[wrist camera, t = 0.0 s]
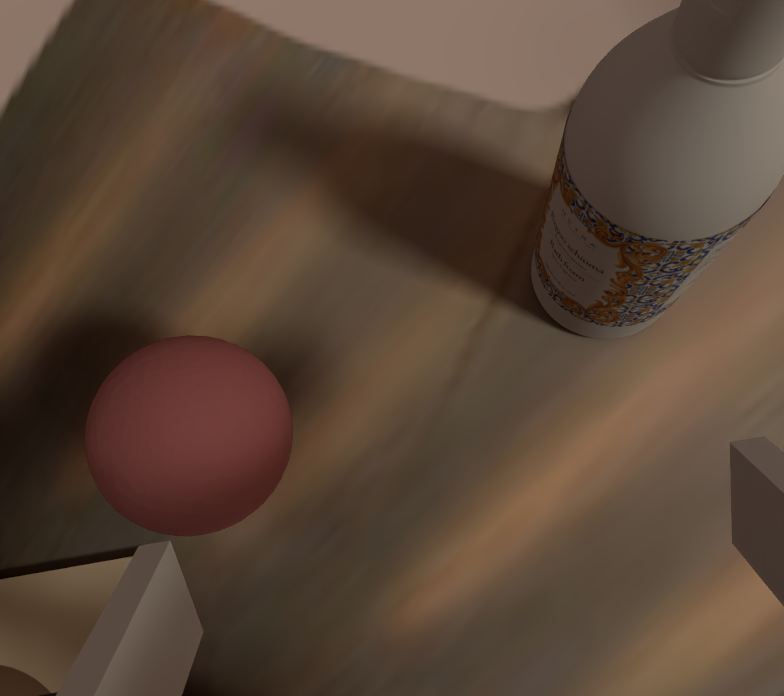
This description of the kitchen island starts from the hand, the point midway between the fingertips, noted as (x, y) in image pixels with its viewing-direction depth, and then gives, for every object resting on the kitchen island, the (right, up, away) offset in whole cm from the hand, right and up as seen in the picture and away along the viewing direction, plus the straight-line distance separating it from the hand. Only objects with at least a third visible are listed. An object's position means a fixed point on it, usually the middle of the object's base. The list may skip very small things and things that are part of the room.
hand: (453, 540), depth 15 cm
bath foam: (+9, +8, +17) cm, 21 cm away
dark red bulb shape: (-8, -1, +17) cm, 19 cm away
